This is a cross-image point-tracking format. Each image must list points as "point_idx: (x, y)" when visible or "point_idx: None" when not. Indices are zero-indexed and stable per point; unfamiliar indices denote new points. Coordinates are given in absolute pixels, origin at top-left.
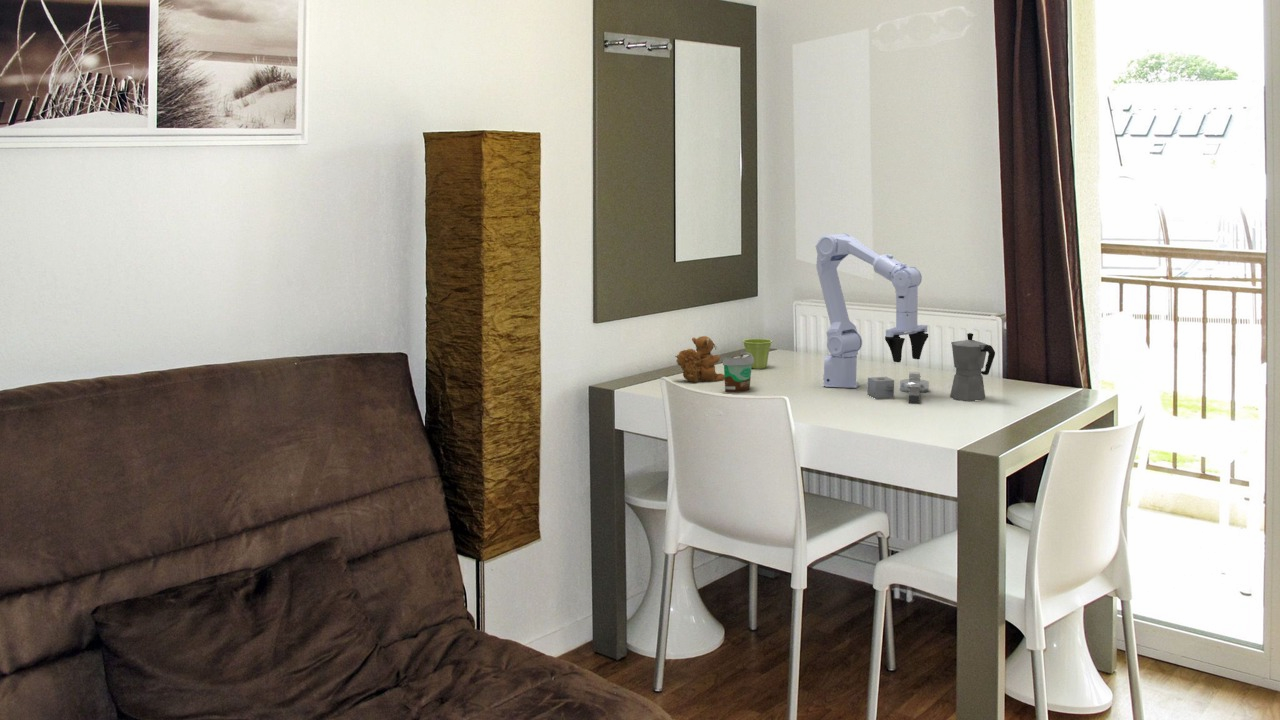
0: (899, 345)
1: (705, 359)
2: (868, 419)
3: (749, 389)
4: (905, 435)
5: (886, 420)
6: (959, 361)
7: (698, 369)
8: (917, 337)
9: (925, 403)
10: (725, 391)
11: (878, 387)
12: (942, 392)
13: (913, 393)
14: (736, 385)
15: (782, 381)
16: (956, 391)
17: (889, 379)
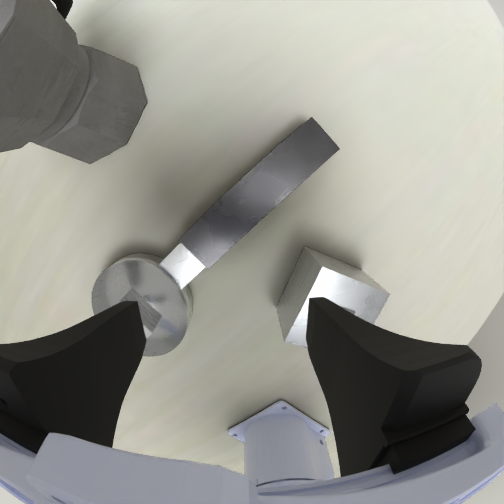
0: (409, 341)
1: None
2: (499, 119)
3: None
4: (490, 22)
5: (482, 84)
6: (62, 48)
7: None
8: (68, 416)
9: (280, 114)
10: None
11: (369, 280)
12: (93, 220)
13: (298, 160)
14: None
15: (334, 473)
16: (132, 94)
17: (323, 291)
